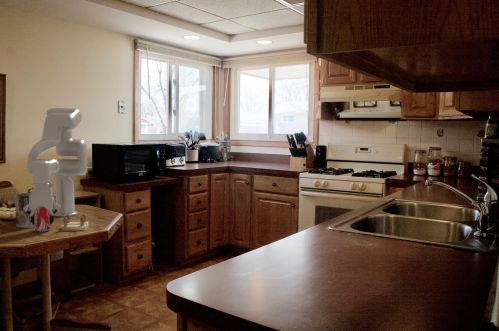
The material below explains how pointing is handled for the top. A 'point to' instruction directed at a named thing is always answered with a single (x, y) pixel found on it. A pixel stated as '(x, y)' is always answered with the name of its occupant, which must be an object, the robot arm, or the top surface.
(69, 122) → the robot arm
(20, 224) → the coffee box
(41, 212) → the soda can
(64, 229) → the peg stand
